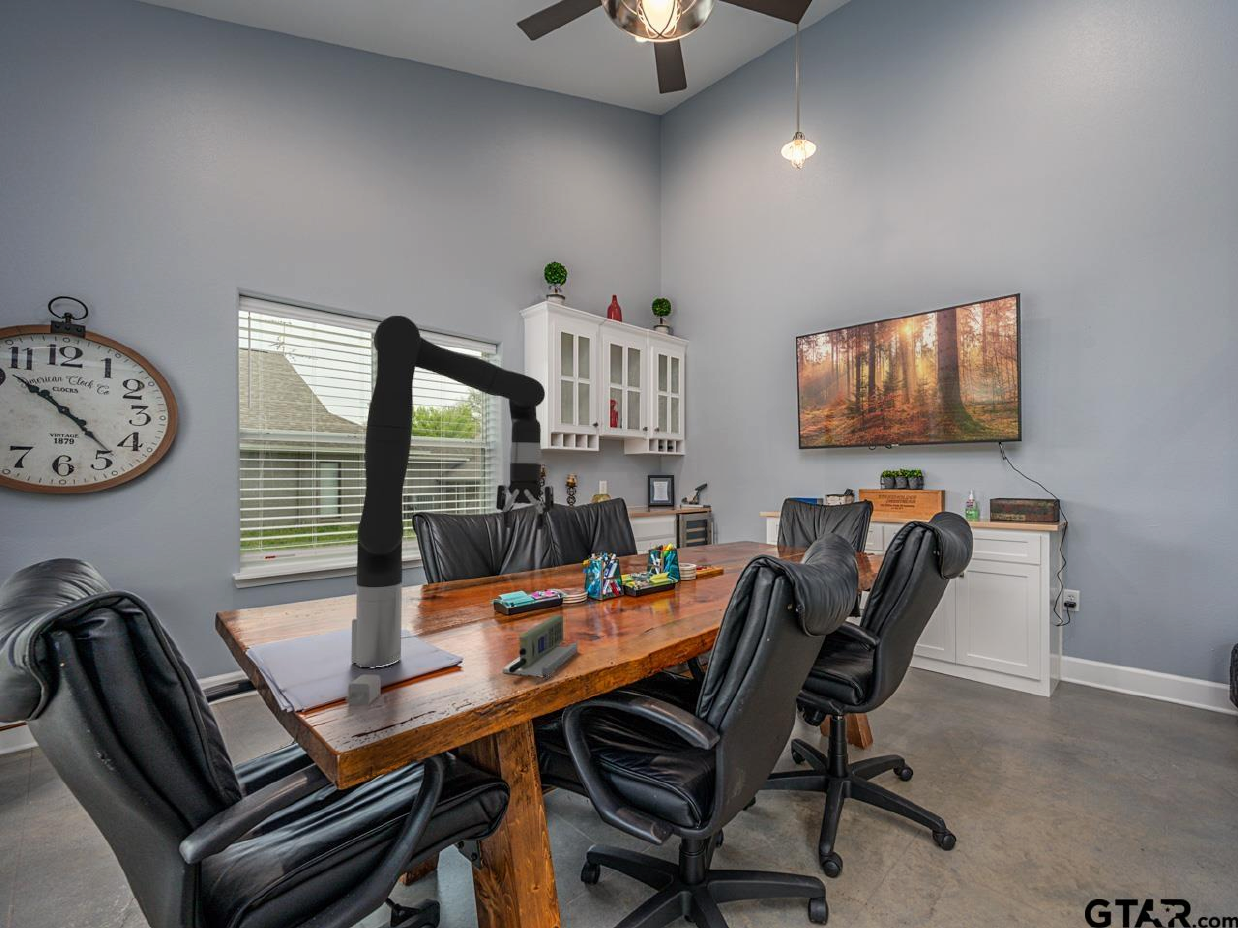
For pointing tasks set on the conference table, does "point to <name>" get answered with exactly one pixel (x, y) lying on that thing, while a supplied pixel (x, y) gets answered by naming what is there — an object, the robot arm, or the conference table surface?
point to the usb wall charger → (364, 690)
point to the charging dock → (546, 661)
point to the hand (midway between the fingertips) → (524, 528)
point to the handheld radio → (539, 641)
